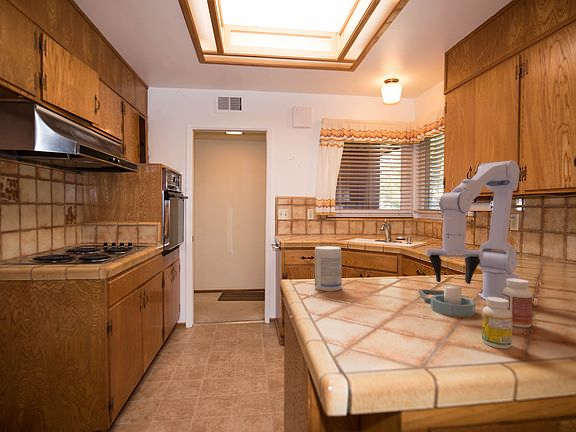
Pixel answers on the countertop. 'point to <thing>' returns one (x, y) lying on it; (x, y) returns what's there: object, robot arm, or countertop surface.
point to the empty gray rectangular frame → (430, 293)
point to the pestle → (452, 294)
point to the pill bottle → (519, 301)
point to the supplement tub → (328, 268)
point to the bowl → (453, 307)
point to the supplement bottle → (497, 323)
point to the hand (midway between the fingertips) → (453, 282)
